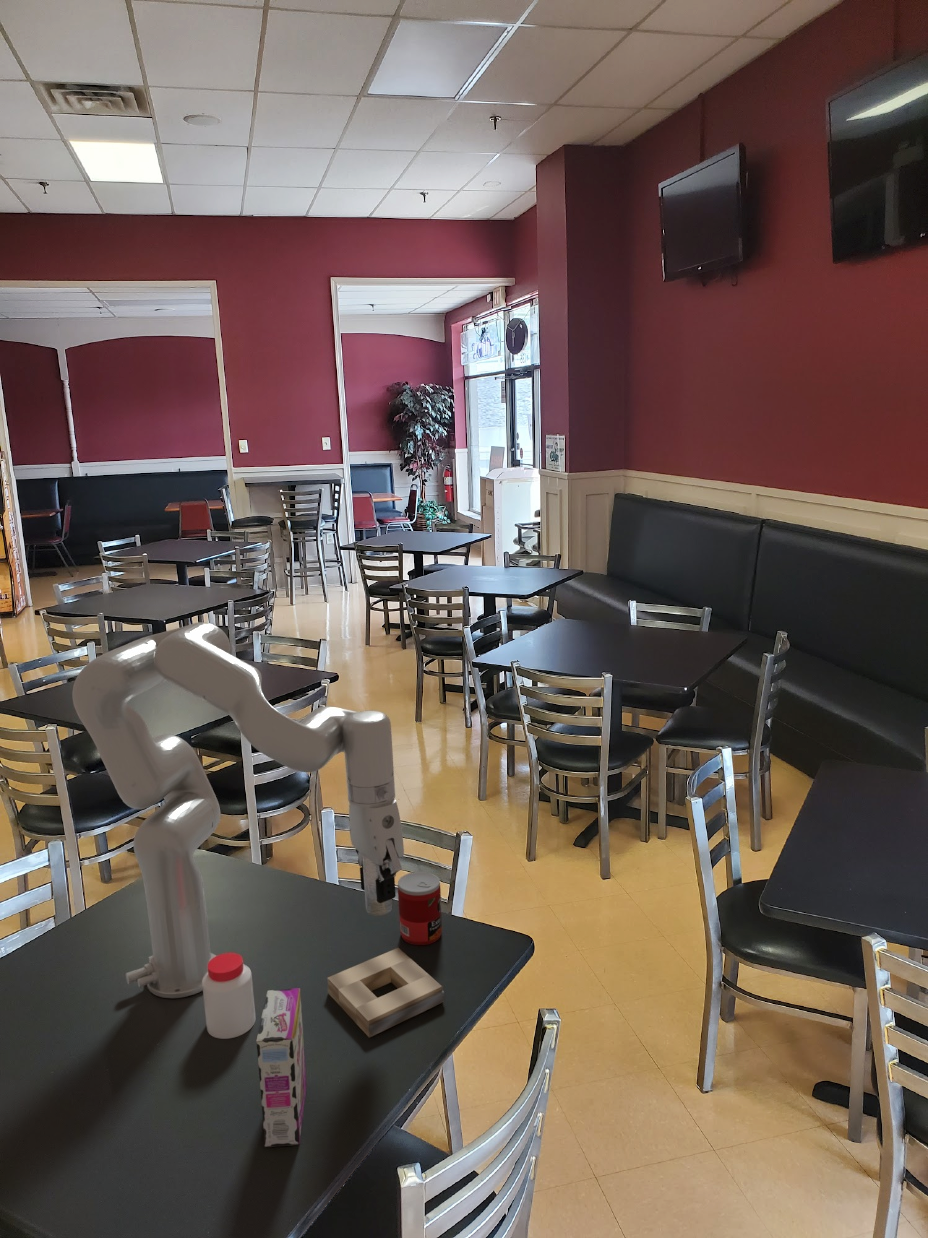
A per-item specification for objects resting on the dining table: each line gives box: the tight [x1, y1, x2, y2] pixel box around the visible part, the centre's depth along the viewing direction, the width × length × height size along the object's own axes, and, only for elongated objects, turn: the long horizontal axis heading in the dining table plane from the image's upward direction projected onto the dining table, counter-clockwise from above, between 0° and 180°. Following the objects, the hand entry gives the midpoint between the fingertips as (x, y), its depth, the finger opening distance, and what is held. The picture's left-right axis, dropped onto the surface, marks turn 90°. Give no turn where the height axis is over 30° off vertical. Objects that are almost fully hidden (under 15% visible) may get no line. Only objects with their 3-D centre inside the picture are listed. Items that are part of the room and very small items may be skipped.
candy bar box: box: [255, 987, 308, 1148], centre depth 121 cm, size 11×5×16 cm, turn 5°
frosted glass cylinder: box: [362, 854, 394, 916], centre depth 143 cm, size 4×4×10 cm
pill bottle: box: [202, 952, 257, 1040], centre depth 142 cm, size 8×8×11 cm
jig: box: [327, 947, 446, 1038], centre depth 147 cm, size 14×15×3 cm
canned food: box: [397, 871, 443, 946], centre depth 165 cm, size 8×8×11 cm
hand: (378, 892), depth 144 cm, fingers closed on frosted glass cylinder, 4 cm apart
